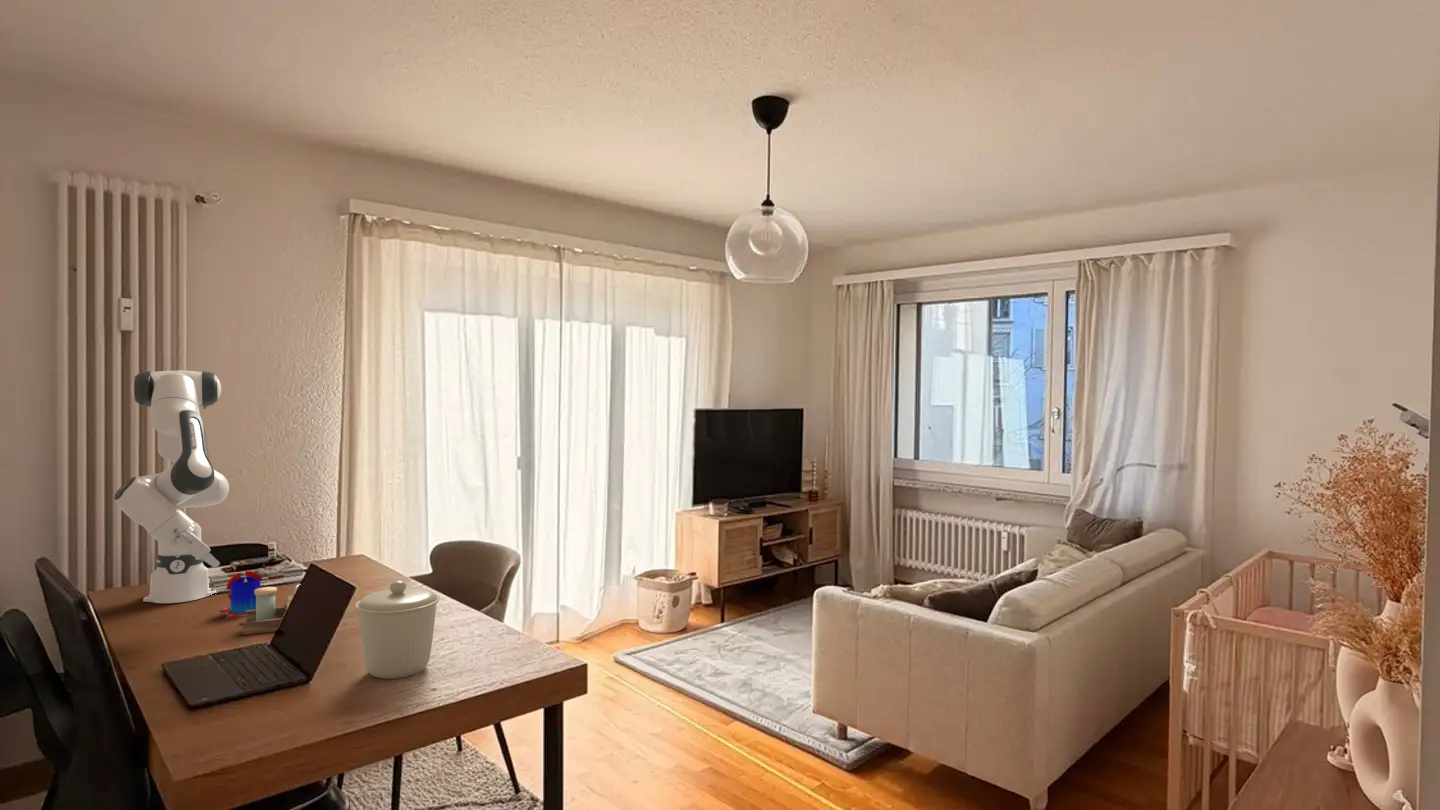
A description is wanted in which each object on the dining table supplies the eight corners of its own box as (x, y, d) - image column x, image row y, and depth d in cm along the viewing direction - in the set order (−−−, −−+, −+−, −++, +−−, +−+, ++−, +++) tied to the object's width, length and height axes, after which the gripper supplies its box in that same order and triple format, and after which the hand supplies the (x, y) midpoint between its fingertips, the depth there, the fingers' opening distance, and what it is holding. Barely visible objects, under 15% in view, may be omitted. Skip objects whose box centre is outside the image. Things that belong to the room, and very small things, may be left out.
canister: (387, 692, 167) (387, 595, 167) (338, 675, 177) (338, 583, 177) (456, 667, 183) (456, 578, 182) (407, 653, 192) (407, 568, 192)
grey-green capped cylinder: (255, 624, 216) (255, 588, 215) (277, 621, 218) (277, 586, 218) (253, 629, 211) (253, 592, 211) (276, 626, 213) (276, 590, 213)
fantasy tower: (225, 620, 219) (225, 577, 219) (218, 611, 228) (218, 570, 228) (272, 612, 227) (272, 571, 227) (264, 604, 236) (263, 564, 236)
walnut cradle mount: (246, 620, 219) (246, 598, 219) (294, 614, 225) (294, 594, 224) (242, 636, 205) (242, 613, 205) (293, 629, 210) (293, 607, 210)
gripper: (188, 521, 198) (231, 558, 203) (180, 519, 214) (220, 553, 219) (166, 540, 195) (209, 576, 200) (159, 536, 211) (200, 570, 216)
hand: (215, 564), depth 210 cm, fingers open, 8 cm apart
